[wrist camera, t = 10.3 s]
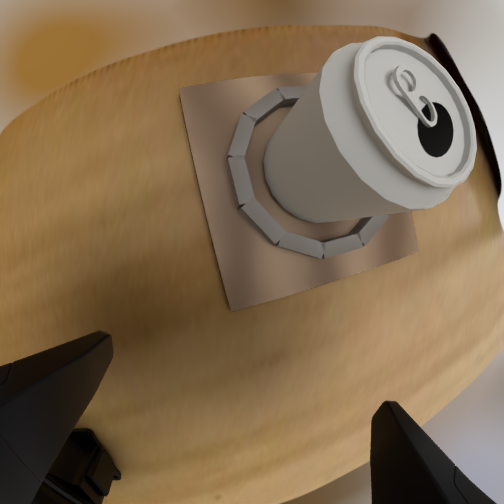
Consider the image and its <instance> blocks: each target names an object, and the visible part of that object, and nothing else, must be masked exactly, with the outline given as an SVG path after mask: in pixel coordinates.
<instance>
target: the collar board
mask: <svg viewBox="0 0 504 504" xmlns="http://www.w3.org/2000/svg"><path fill="white" fill-rule="evenodd" d="M316 75H317V73H297V74H279V75H266V76H256V77H247V78H239V79H231V80H224V81H218V82H212V83H206V84H201V85H195V86H190V87H186V88H181V89H179V95H180V100H181V105H182V110H183V115H184V120H185V125H186V130H187V135H188V139H189V144H190V149H191V153H192V158H193V162H194V167H195V171H196V175H197V180H198V184H199V189H200V193H201V197H202V201H203V206H204V210H205V214H206V218H207V222H208V226H209V230H210V234H211V238H212V242H213V246H214V250H215V254H216V258H217V262H218V266H219V270H220V274H221V277H222V281H223V285H224V289H225V292H226V296H227V300H228V303H229V307H230V310H231V312H233V311H237V310H241V309H244V308H248V307H251V306H255V305H258V304H262V303H265V302H269V301H272V300H276V299H279V298H282V297H286V296H289V295H292V294H296V293H299V292H302V291H305V290H308V289H312V288H315V287H318V286H321V285H324V284H327V283H330V282H334V281H337V280H340V279H343V278H346V277H349V276H352V275H355V274H358V273H360V272H363V271H366V270H369V269H372V268H375V267H378V266H381V265H383V264H386V263H389V262H392V261H395V260H397V259H400V258H403V257H405V256H408V255H411V254H414V253H416V252H419V249H418V243H417V237H416V231H415V226H414V221H413V216H412V211H408V212H400V213H393V214H386V215H378V216H371V217H364V218H357V219H350V220H343V221H336V222H327V223H313V222H309V221H306V220H302V219H299V218H297V217H296V216H294V215H293V214H291V213H290V212H288V211H287V210H285V209H284V208H283V207H282V206H281V204H280V203H279V202H278V201H277V200H276V198H275V197H274V196H273V195H272V193H271V190H270V188H269V186H268V183H267V181H266V179H265V171H264V162H263V160H264V156H265V151H266V147H267V144H268V142H269V141H270V139H271V138H272V136H273V135H274V133H275V132H276V130H277V129H278V127H279V126H280V124H281V123H282V122H283V120H284V119H285V117H286V116H287V114H288V113H289V112H290V110H291V109H292V107H293V106H294V105H295V103H296V102H297V101H298V99H299V98H300V96H301V95H302V94H303V92H304V91H305V90H306V88H307V87H308V85H309V84H310V83H311V81H312V80H313V79H314V77H315V76H316Z"/></svg>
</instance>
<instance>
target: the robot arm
mask: <svg viewBox="0 0 504 504" xmlns="http://www.w3.org/2000/svg"><path fill="white" fill-rule="evenodd" d="M112 358H113V345H112V337H111V335H110V334H108V333H106V332H103V331H96V332H94V333H91V334H88V335H86V336H83V337H80V338H78V339H75V340H72V341H70V342H67V343H64V344H61V345H59V346H56V347H53V348H51V349H48V350H45V351H42V352H40V353H37V354H34V355H31V356H28V357H26V358H23V359H20V360H17V361H14V362H13V363H9V364H6V365H3V366H0V504H102V502H103V499H104V496H107V495H108V494H109V490H110V487H111V483H112V480H120V479H121V474H120V473H119V471H118V470H117V469H116V467H115V465H114V464H113V462H112V461H111V459H110V458H109V456H108V455H107V453H106V452H105V450H104V449H103V448H102V446H101V445H100V443H99V442H98V440H97V438H96V437H95V435H94V433H93V432H92V431H91V430H89V429H73V428H74V427H75V425H76V423H77V422H78V420H79V419H80V417H81V415H82V414H83V412H84V411H85V409H86V407H87V406H88V404H89V403H90V401H91V399H92V398H93V396H94V394H95V393H96V391H97V389H98V387H99V384H100V382H101V380H102V378H103V376H104V374H105V372H106V370H107V368H108V366H109V364H110V362H111V360H112ZM88 434H89V435H88ZM370 466H371V489H372V504H496V503H495V502H494V501H493V500H492V499H490V498H489V497H488V496H487V495H486V494H485V493H484V492H482V491H481V490H480V489H479V488H478V487H477V486H476V485H475V484H473V483H472V482H471V481H470V480H469V479H468V478H467V477H466V476H465V475H464V474H463V473H462V472H461V471H460V470H459V468H458V467H457V466H455V464H454V463H453V462H452V461H451V460H450V459H449V458H448V457H447V456H446V454H445V453H444V452H443V451H442V450H441V449H440V448H439V447H438V446H437V445H436V444H435V443H434V442H433V440H432V439H431V438H430V437H429V436H428V435H427V434H426V433H425V432H424V431H423V430H422V429H421V427H420V426H419V425H418V424H417V423H416V422H415V421H414V420H413V419H412V418H411V417H410V416H409V415H408V413H407V412H406V411H405V410H404V409H403V408H402V407H401V406H400V405H399V404H398V403H397V402H396V401H385V402H383V403H382V405H381V406H380V407H379V409H378V410H377V411H376V413H375V414H374V415H373V417H372V421H371V450H370Z"/></svg>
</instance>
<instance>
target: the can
mask: <svg viewBox="0 0 504 504" xmlns="http://www.w3.org/2000/svg"><path fill="white" fill-rule="evenodd" d="M476 150H477V146H476V132H475V126H474V123H473V119H472V116H471V112H470V109H469V107H468V105H467V103H466V101H465V98H464V96H463V94H462V92H461V91H460V89H459V87H458V86H457V84H456V83H455V81H454V80H453V79H452V77H451V76H450V75H449V73H448V72H447V71H446V70H445V69H444V68H443V67H442V66H441V65H440V64H439V63H438V62H437V61H436V60H435V59H434V58H433V57H432V56H431V55H430V54H428V53H427V52H425V51H424V50H422V49H421V48H419V47H418V46H416V45H414V44H412V43H410V42H407V41H404V40H401V39H399V38H396V37H381V36H377V37H375V38H373V39H370V40H368V41H366V42H364V43H350V44H348V45H346V46H344V47H342V48H340V49H338V50H336V51H334V52H333V54H332V55H331V56H330V58H329V59H328V60H327V61H326V63H325V64H324V65H323V67H322V68H321V69H320V71H319V72H318V73H317V75H316V76H315V77H314V79H313V80H312V81H311V83H310V84H309V85H308V87H307V88H306V90H305V91H304V92H303V94H302V95H301V96H300V98H299V99H298V101H297V102H296V103H295V105H294V106H293V107H292V109H291V110H290V112H289V113H288V114H287V116H286V117H285V119H284V120H283V122H282V123H281V124H280V126H279V127H278V129H277V130H276V132H275V133H274V135H273V136H272V138H271V139H270V141H269V142H268V144H267V147H266V151H265V156H264V160H263V162H264V171H265V179H266V181H267V183H268V186H269V188H270V190H271V193H272V195H273V196H274V197H275V198H276V200H277V201H278V202H279V203H280V204H281V206H282V207H283V208H284V209H285V210H287V211H288V212H290V213H291V214H293V215H294V216H296V217H297V218H299V219H302V220H306V221H309V222H313V223H327V222H336V221H343V220H350V219H357V218H364V217H371V216H378V215H386V214H393V213H400V212H408V211H416V210H423V209H431V208H432V207H434V206H436V205H438V204H439V203H441V202H443V201H445V200H446V199H447V198H448V196H449V195H450V193H451V192H452V191H453V189H454V188H455V186H457V185H459V184H460V183H462V182H464V181H465V180H466V179H467V177H468V175H469V174H470V172H471V170H472V169H473V166H474V161H475V155H476Z"/></svg>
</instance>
